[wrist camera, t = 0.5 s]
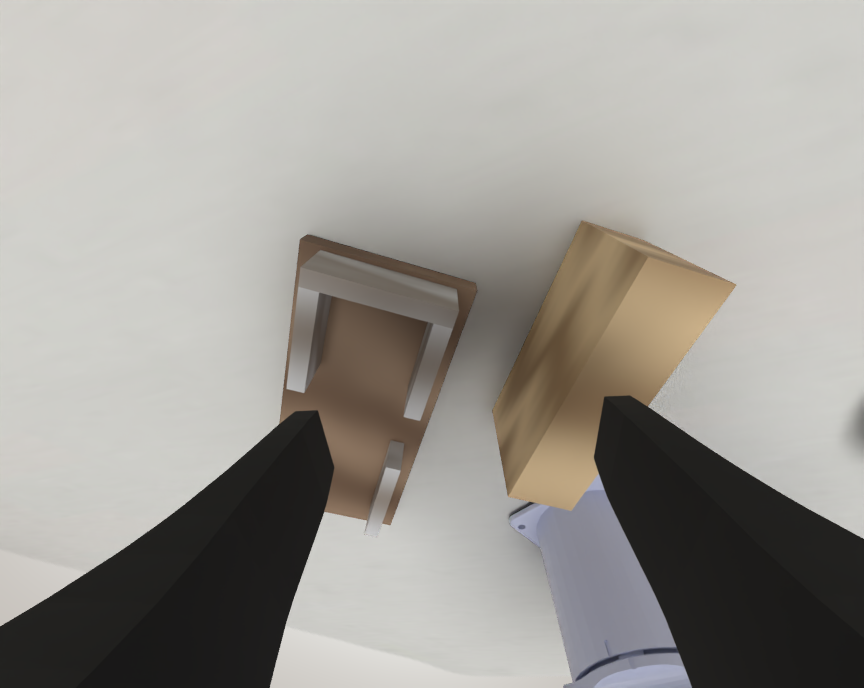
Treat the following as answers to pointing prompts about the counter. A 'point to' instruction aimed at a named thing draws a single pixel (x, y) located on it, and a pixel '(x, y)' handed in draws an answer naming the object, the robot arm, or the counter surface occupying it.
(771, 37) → the counter surface
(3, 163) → the counter surface
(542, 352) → the oak slat
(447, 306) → the board
